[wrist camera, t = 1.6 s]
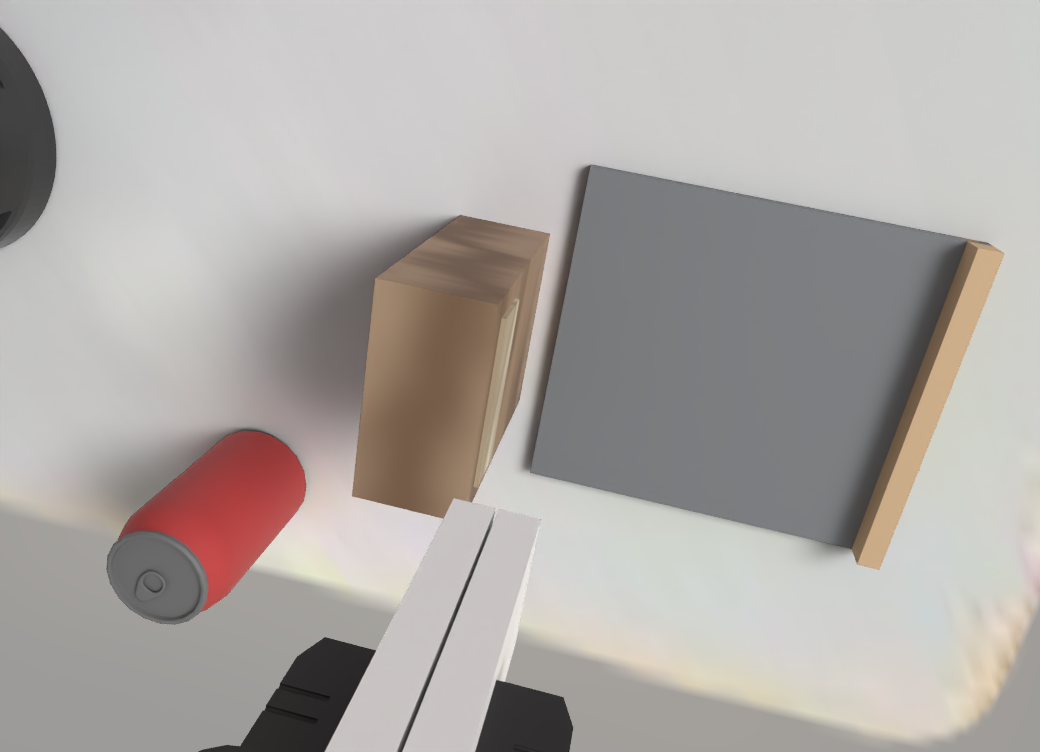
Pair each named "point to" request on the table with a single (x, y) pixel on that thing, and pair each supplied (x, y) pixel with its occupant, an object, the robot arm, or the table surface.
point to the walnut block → (446, 363)
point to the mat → (756, 357)
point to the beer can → (206, 528)
